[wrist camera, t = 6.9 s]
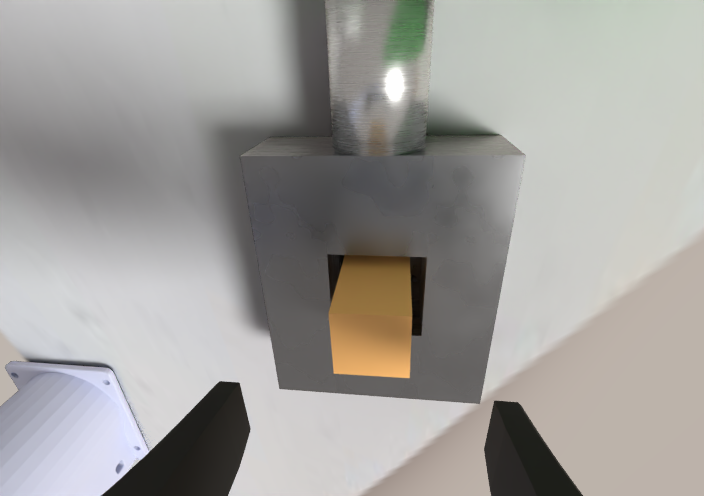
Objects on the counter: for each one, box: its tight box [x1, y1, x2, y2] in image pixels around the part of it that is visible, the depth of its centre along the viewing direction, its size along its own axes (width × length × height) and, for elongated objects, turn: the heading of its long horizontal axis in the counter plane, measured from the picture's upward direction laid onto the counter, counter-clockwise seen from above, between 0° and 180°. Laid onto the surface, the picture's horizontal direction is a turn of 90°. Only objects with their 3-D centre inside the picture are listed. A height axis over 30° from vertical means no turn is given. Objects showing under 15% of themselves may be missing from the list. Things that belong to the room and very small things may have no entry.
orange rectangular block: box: [329, 255, 412, 378], centre depth 16 cm, size 3×3×6 cm
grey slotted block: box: [240, 0, 526, 404], centre depth 16 cm, size 17×11×4 cm, turn 2°
